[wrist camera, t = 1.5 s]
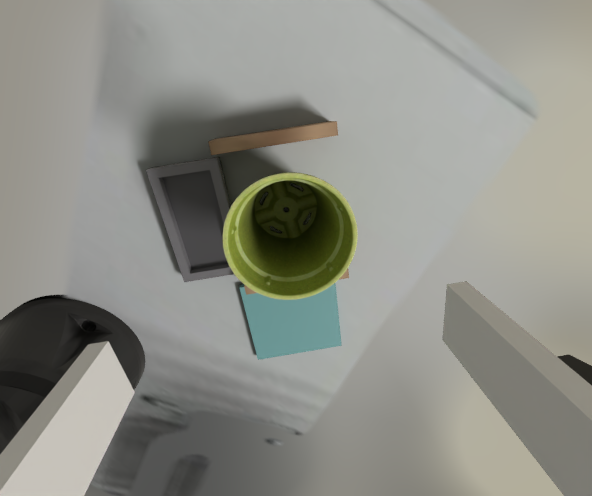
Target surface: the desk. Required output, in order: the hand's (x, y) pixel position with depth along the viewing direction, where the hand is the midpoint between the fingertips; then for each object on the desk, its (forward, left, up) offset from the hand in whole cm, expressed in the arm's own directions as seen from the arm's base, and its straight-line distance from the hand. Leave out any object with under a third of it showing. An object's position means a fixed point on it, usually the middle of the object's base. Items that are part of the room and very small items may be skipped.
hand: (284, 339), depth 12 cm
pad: (0, -12, -18) cm, 22 cm away
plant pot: (+1, 0, -18) cm, 18 cm away
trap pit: (-7, 0, -18) cm, 20 cm away
